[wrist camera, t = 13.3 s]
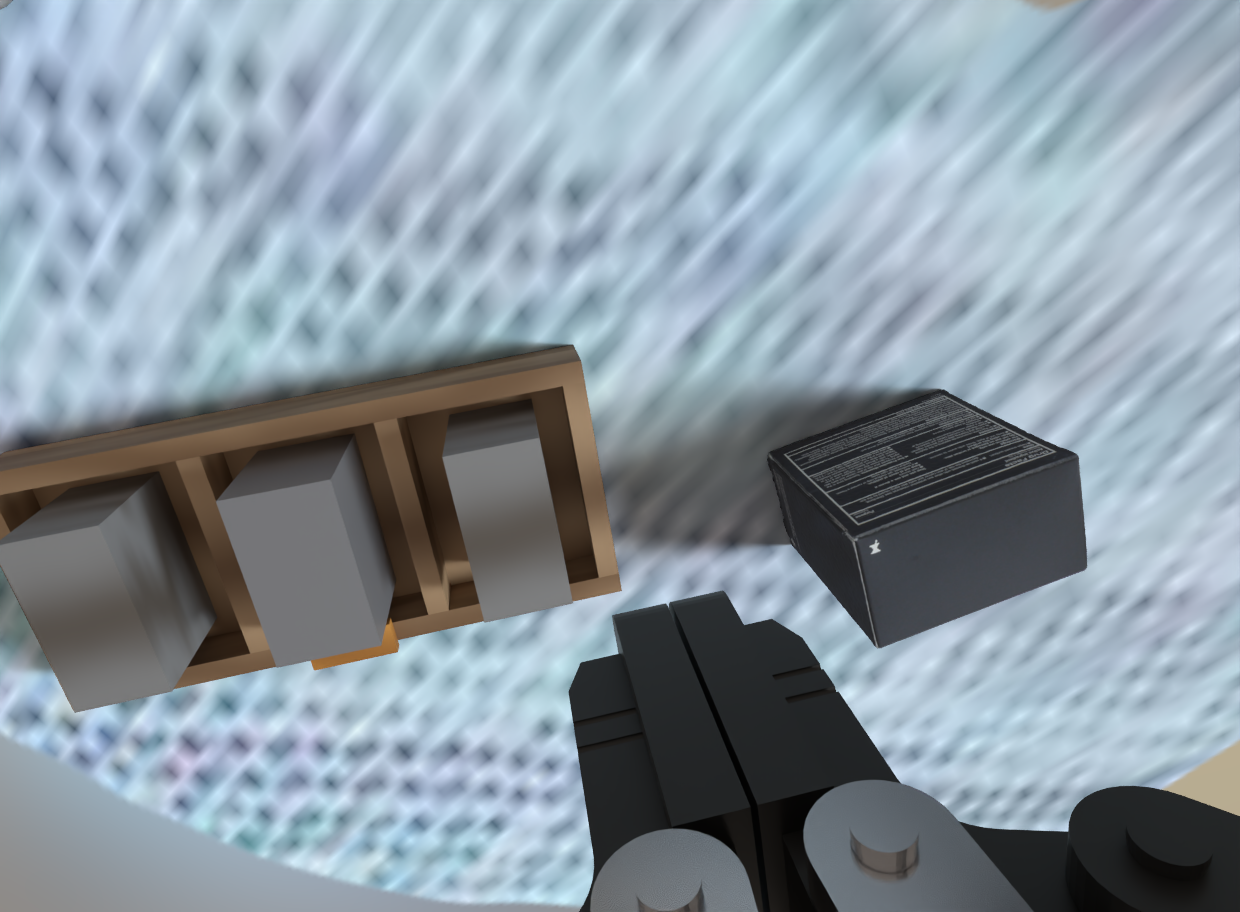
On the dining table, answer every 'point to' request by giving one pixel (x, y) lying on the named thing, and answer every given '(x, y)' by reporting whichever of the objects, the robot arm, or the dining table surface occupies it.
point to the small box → (930, 513)
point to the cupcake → (4, 3)
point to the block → (311, 549)
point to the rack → (402, 492)
